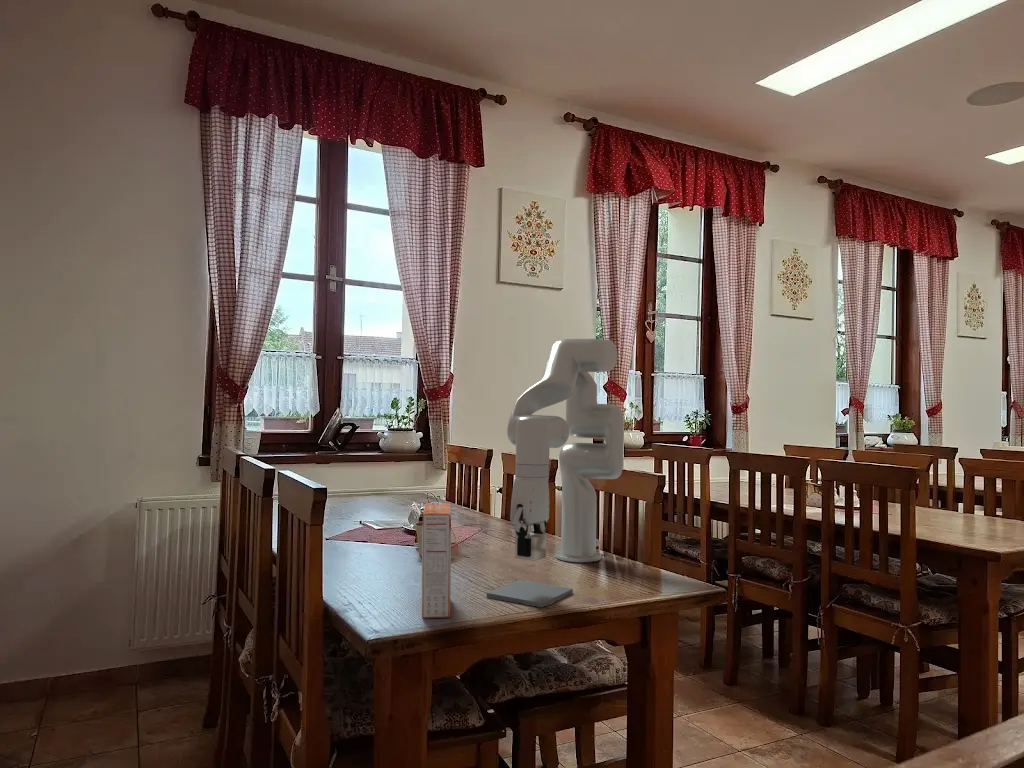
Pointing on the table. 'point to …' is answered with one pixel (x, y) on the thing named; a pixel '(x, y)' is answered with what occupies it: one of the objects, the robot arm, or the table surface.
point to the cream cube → (534, 547)
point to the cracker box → (436, 560)
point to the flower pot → (419, 535)
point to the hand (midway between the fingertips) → (530, 553)
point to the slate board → (529, 593)
